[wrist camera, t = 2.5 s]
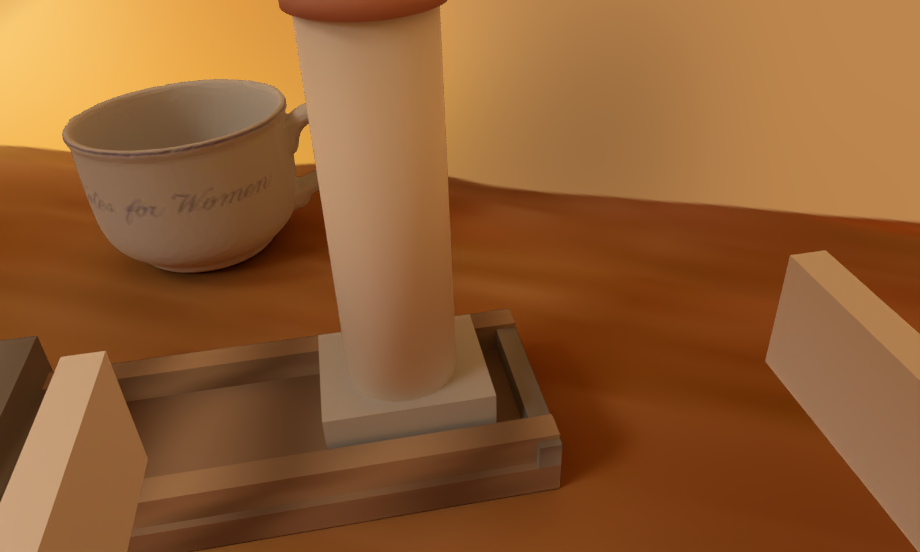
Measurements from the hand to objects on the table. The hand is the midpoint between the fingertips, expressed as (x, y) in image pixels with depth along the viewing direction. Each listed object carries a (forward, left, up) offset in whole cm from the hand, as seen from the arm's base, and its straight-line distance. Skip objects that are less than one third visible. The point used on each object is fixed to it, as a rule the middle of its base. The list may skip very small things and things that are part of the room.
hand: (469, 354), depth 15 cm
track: (-6, +10, -12) cm, 17 cm away
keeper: (-1, +10, -11) cm, 15 cm away
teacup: (-8, +26, -12) cm, 30 cm away
